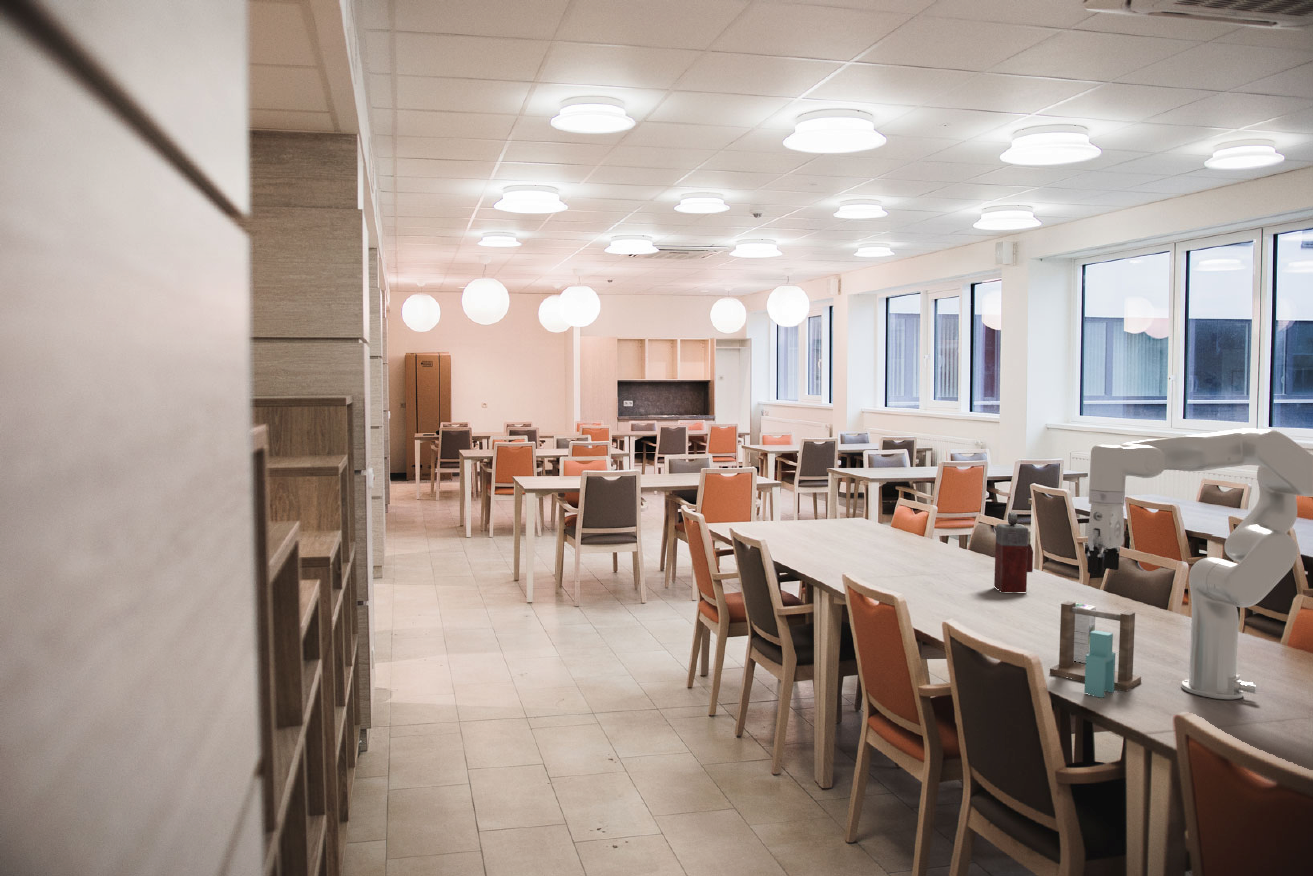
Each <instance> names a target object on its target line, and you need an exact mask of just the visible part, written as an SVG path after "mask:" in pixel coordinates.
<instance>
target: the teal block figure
mask: <svg viewBox="0 0 1313 876" xmlns="http://www.w3.org/2000/svg"><path fill="white" fill-rule="evenodd" d="M1113 640H1114V634H1113V632H1108V631H1101V630H1096V629H1095V630H1094V631H1092V632H1090V653H1089V654H1087V655H1086V664H1084V665H1085V682H1084V693H1088V694H1090V695H1094V696H1098V697H1104V698H1105V692H1107V691H1108V693H1114V692H1115V689H1114V679H1115V671H1116V652H1113V644H1114V643H1113V642H1114V641H1113ZM1105 690H1106V691H1105ZM1090 695H1089V696H1090ZM1094 696H1093V697H1094ZM1098 697H1097V698H1098Z"/></svg>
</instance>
